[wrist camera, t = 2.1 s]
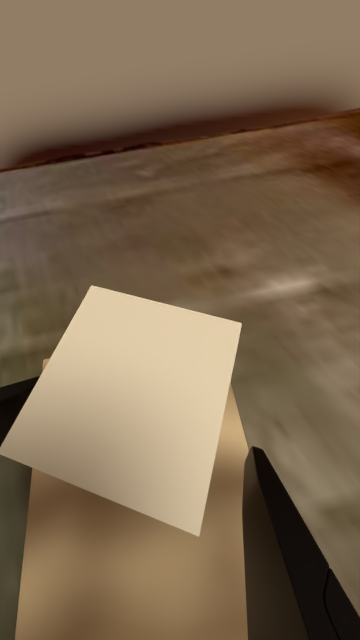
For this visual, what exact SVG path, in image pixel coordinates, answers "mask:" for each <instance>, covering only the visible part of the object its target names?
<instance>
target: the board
mask: <svg viewBox="0 0 360 640" xmlns="http://www.w3.org/2000/svg"><path fill="white" fill-rule="evenodd" d="M49 360H50V359H45V360H44V361H43V371H44V369H45V367H46V365H47V363H48V362H49ZM43 371H42V372H43ZM248 453H249V451H248V447H247V443H246V439H245V435H244V432H243V428H242V424H241V420H240V417H239V413H238V409H237V405H236V401H235V398H234V394H233V390H232V386H231V383H230V385H229V390H228V395H227V400H226V405H225V410H224V415H223V420H222V425H221V430H220V435H219V440H218V445H217V450H216V455H215V460H214V465H213V470H212V475H211V480H210V485H209V490H208V495H207V500H206V505H205V510H204V515H203V520H202V525H201V530H200V535H199V537H198V536H196V535H194V534H191V533H189V532H186V531H184V530H182V529H179V528H177V527H174V526H172V525H169V524H167V523H165V522H162V521H160V520H157V519H155V518H153V517H150V516H148V515H145V514H143V513H140V512H138V511H136V510H133V509H131V508H128V507H126V506H124V505H121V504H119V503H116V502H114V501H111V500H109V499H107V498H104V497H102V496H99V495H97V494H94V493H92V492H90V491H87V490H85V489H82V488H80V487H78V486H75V485H73V484H70V483H68V482H65V481H63V480H61V479H58V478H56V477H53V476H51V475H49V474H46V473H44V472H41V471H39V470H36V469H34V468H32V478H31V487H30V497H29V507H28V517H27V526H26V536H25V546H24V555H23V565H22V575H21V585H20V594H19V604H18V614H17V623H16V633H15V640H248V629H247V609H246V588H245V567H244V546H243V526H242V499H243V479H244V464H245V460H246V457H247V455H248Z"/></svg>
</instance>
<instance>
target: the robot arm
mask: <svg viewBox="0 0 360 640" xmlns="http://www.w3.org/2000/svg"><path fill="white" fill-rule="evenodd" d="M39 378H40V376H38V377H35V378H31V379H28V380H24V381H21V382H18V383H14V384H11V385H7V386H4V387H1V388H0V447H1V445H2V443H3V442H4V440H5V438H6V436H7V434H8V433H9V431H10V429H11V427H12V426H13V424H14V422H15V420H16V418H17V417H18V415H19V413H20V411H21V410H22V408H23V406H24V404H25V402H26V401H27V399H28V397H29V395H30V394H31V392H32V390H33V388H34V387H35V385H36V383H37V381H38V379H39ZM242 526H243V546H244V567H245V588H246V609H247V629H248V640H360V617H359V615H358V613H357V612H356V610H355V608H354V607H353V605H352V603H351V602H350V600H349V598H348V597H347V595H346V593H345V592H344V590H343V588H342V587H341V585H340V583H339V581H338V580H337V578H336V576H335V574H334V573H333V571H332V569H331V568H329V564H328V562H327V561H326V559H325V557H324V555H323V554H322V552H321V550H320V548H319V547H318V545H317V543H316V541H315V540H314V538H313V536H312V534H311V533H310V531H309V529H308V527H307V526H306V524H305V522H304V521H303V519H302V517H301V515H300V514H299V512H298V510H297V508H296V507H295V505H294V503H293V501H292V500H291V498H290V496H289V494H288V493H287V491H286V489H285V487H284V486H283V484H282V482H281V480H280V479H279V477H278V475H277V473H276V472H275V470H274V468H273V467H272V465H271V463H270V461H269V460H268V458H267V456H266V454H265V453H264V451H263V450H262V449H260V448H257V447H254V446H252V447H251V448H250V450H249V453H248V455H247V457H246V460H245V464H244V479H243V499H242Z"/></svg>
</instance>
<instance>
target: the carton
mask: <svg viewBox="0 0 360 640" xmlns="http://www.w3.org/2000/svg"><path fill="white" fill-rule="evenodd" d="M241 326H242V323H239V322H235V321H231V320H227V319H223V318H219V317H215V316H211V315H207V314H203V313H199V312H195V311H191V310H187V309H183V308H179V307H175V306H171V305H167V304H163V303H159V302H156V301H152V300H148V299H144V298H140V297H136V296H132V295H128V294H124V293H120V292H116V291H112V290H108V289H104V288H100V287H96V286H92V285H91V287H90V289H89V291H88V293H87V294H86V296H85V298H84V300H83V301H82V303H81V305H80V307H79V309H78V310H77V312H76V314H75V316H74V317H73V319H72V321H71V323H70V324H69V326H68V328H67V330H66V332H65V333H64V335H63V337H62V339H61V340H60V342H59V344H58V346H57V348H56V349H55V351H54V353H53V355H52V356H51V358H50V360H49V362H48V363H47V365H46V367H45V369H44V371H43V372H42V374H41V376H40V378H39V379H38V381H37V383H36V385H35V387H34V388H33V390H32V392H31V394H30V395H29V397H28V399H27V401H26V402H25V404H24V406H23V408H22V410H21V411H20V413H19V415H18V417H17V418H16V420H15V422H14V424H13V426H12V427H11V429H10V431H9V433H8V434H7V436H6V438H5V440H4V442H3V443H2V445H1V447H0V455H3V456H5V457H7V458H10V459H12V460H15V461H17V462H20V463H22V464H24V465H27V466H29V467H32V468H34V469H36V470H39V471H41V472H44V473H46V474H49V475H51V476H53V477H56V478H58V479H61V480H63V481H65V482H68V483H70V484H73V485H75V486H78V487H80V488H82V489H85V490H87V491H90V492H92V493H94V494H97V495H99V496H102V497H104V498H107V499H109V500H111V501H114V502H116V503H119V504H121V505H124V506H126V507H128V508H131V509H133V510H136V511H138V512H140V513H143V514H145V515H148V516H150V517H153V518H155V519H157V520H160V521H162V522H165V523H167V524H169V525H172V526H174V527H177V528H179V529H182V530H184V531H186V532H189V533H191V534H194V535H196V536H198V537H199V535H200V530H201V525H202V520H203V515H204V510H205V505H206V500H207V495H208V490H209V485H210V480H211V475H212V470H213V465H214V460H215V455H216V450H217V445H218V440H219V435H220V430H221V425H222V420H223V415H224V410H225V405H226V400H227V395H228V390H229V385H230V380H231V375H232V370H233V366H234V361H235V356H236V351H237V346H238V341H239V336H240V331H241Z"/></svg>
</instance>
